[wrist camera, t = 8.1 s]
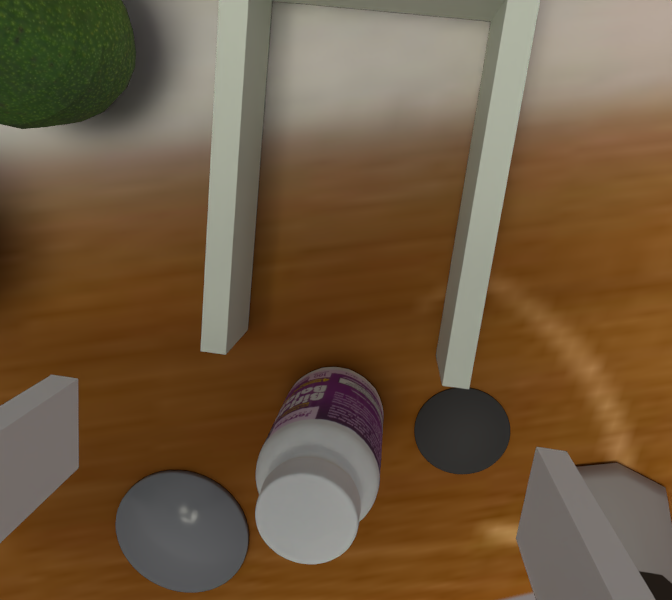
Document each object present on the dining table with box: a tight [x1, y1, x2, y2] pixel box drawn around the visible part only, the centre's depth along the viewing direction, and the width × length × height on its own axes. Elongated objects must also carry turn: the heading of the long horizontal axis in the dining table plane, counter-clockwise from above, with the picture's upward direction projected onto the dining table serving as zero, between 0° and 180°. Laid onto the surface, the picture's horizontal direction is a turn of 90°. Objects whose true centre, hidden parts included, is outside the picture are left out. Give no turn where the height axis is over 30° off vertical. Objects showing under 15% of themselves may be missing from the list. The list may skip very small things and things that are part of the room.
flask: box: [576, 463, 672, 583], centre depth 25 cm, size 7×7×10 cm
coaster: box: [116, 470, 249, 592], centre depth 33 cm, size 8×8×1 cm
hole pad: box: [415, 388, 510, 474], centre depth 29 cm, size 5×5×1 cm
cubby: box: [201, 0, 540, 389], centre depth 25 cm, size 12×17×4 cm
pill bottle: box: [255, 367, 383, 564], centre depth 25 cm, size 5×5×10 cm
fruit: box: [0, 0, 136, 129], centre depth 21 cm, size 8×8×12 cm
